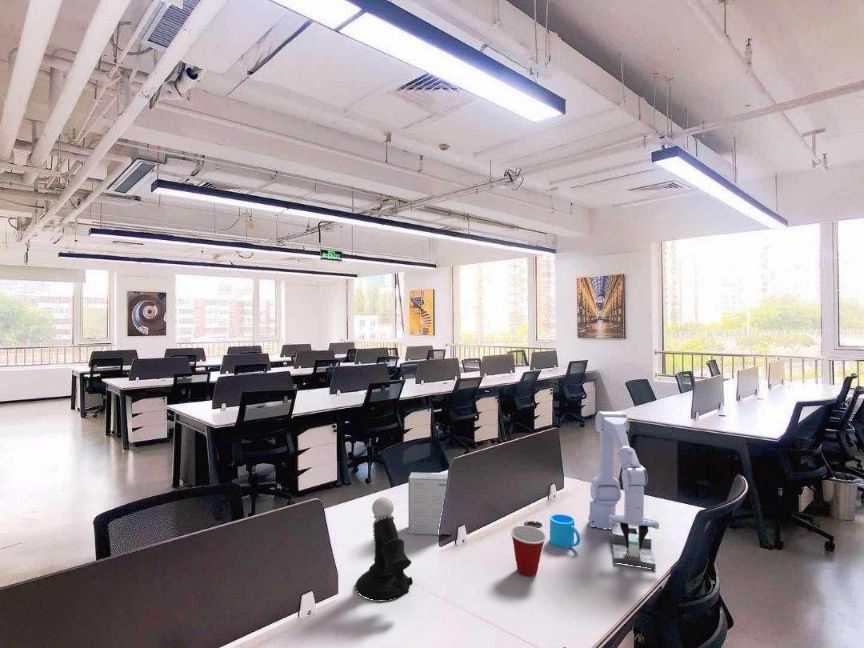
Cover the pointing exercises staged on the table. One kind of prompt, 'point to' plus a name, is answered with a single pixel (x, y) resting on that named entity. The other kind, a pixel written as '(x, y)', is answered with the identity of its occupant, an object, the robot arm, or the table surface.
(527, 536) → the plastic cup
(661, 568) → the table surface
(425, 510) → the hard drive box
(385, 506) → the sculpture
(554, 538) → the mug
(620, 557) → the patch panel
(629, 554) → the plug
